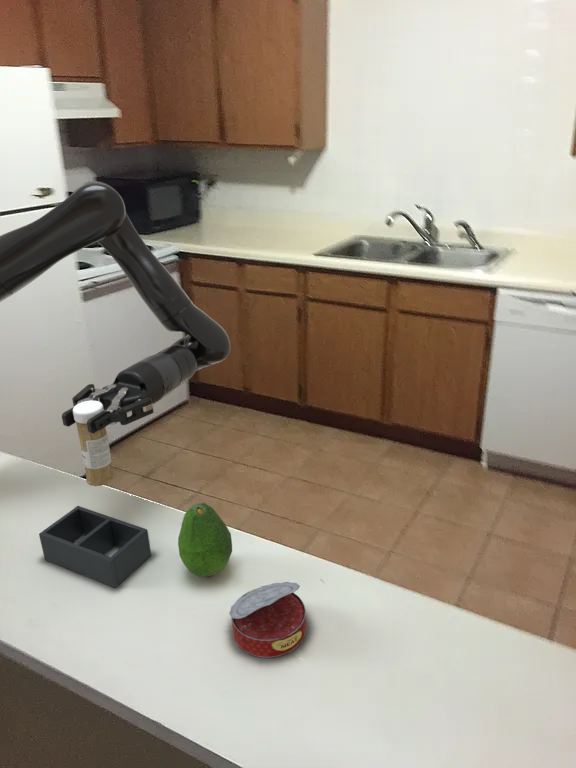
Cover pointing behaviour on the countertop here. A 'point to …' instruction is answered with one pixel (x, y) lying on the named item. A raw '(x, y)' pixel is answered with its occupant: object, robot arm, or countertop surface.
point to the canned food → (269, 620)
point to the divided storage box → (96, 545)
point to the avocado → (204, 541)
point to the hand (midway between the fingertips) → (77, 424)
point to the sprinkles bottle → (93, 445)
